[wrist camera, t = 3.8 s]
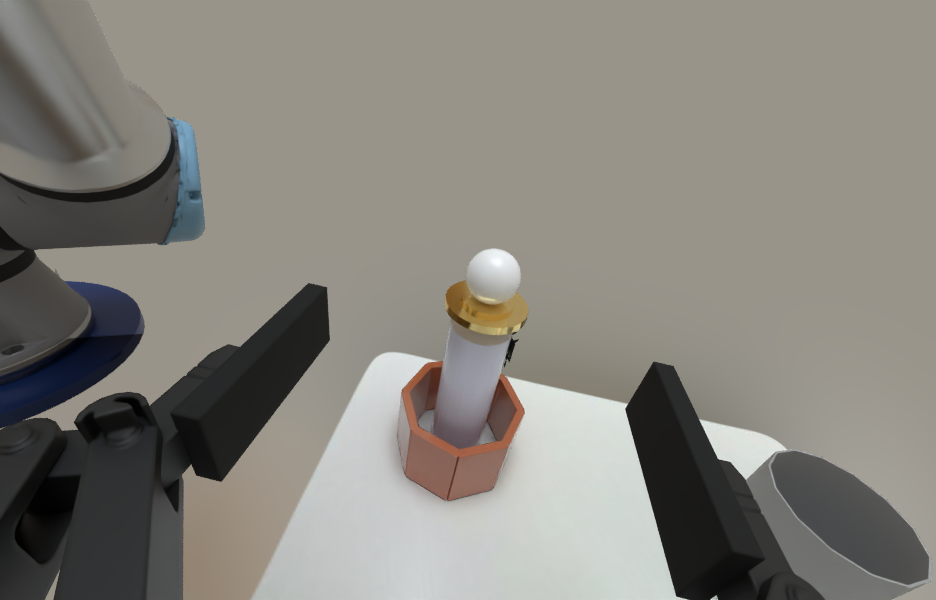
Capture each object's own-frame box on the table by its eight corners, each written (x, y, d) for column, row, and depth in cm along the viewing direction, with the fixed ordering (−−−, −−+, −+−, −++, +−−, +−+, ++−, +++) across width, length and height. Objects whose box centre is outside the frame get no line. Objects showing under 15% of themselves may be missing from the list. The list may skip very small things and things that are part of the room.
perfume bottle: (458, 487, 31) (514, 286, 20) (409, 444, 33) (434, 245, 22) (495, 443, 35) (559, 257, 24) (449, 408, 37) (487, 225, 26)
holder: (411, 510, 28) (418, 466, 25) (391, 410, 36) (395, 366, 33) (522, 482, 32) (541, 440, 29) (483, 396, 39) (495, 355, 36)
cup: (714, 618, 26) (810, 556, 20) (682, 505, 33) (748, 436, 27) (841, 661, 25) (976, 608, 20) (781, 535, 32) (869, 470, 26)
